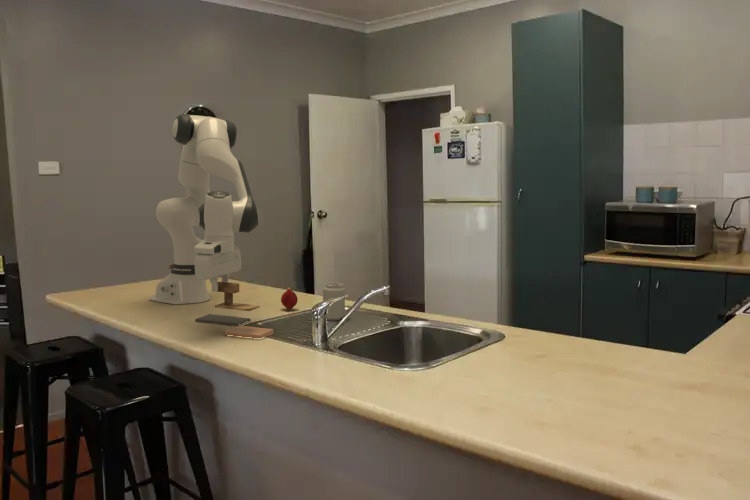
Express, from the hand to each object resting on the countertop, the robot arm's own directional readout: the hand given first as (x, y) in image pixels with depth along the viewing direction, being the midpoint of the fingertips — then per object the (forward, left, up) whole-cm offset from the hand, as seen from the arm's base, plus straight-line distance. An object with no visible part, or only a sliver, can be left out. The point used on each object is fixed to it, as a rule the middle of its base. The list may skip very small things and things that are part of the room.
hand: (219, 289), depth 198 cm
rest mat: (-7, +12, -13) cm, 19 cm away
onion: (+5, +36, -13) cm, 39 cm away
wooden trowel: (+5, 0, -5) cm, 7 cm away
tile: (+4, 0, -12) cm, 13 cm away
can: (+25, +30, -13) cm, 41 cm away
